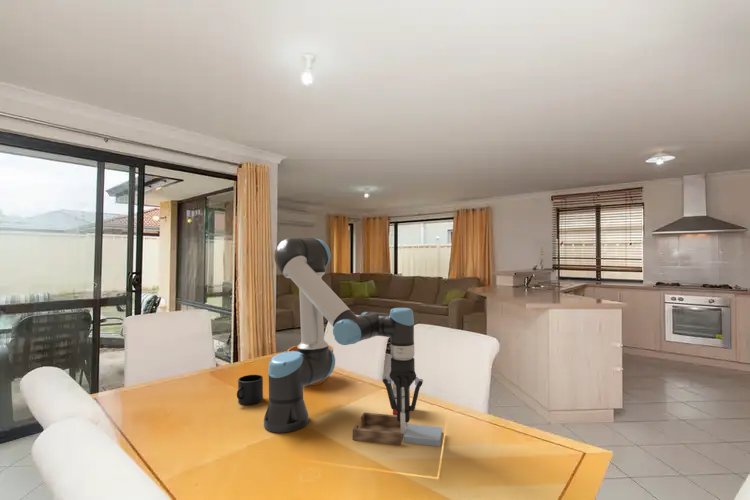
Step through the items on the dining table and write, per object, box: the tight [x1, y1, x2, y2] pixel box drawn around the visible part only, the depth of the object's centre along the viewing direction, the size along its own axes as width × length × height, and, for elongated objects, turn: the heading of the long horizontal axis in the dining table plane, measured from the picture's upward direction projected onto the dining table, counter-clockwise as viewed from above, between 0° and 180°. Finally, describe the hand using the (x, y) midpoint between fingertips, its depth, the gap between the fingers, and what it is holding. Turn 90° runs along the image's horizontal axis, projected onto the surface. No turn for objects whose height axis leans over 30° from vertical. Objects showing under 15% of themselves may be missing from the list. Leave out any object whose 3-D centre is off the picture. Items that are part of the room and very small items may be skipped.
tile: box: [402, 423, 443, 447], centre depth 118 cm, size 11×9×3 cm
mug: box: [236, 374, 264, 406], centre depth 151 cm, size 9×12×9 cm
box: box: [352, 412, 404, 446], centre depth 122 cm, size 15×13×4 cm
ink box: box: [392, 381, 405, 416], centre depth 139 cm, size 9×5×12 cm, turn 168°
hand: (403, 431), depth 120 cm, fingers closed
